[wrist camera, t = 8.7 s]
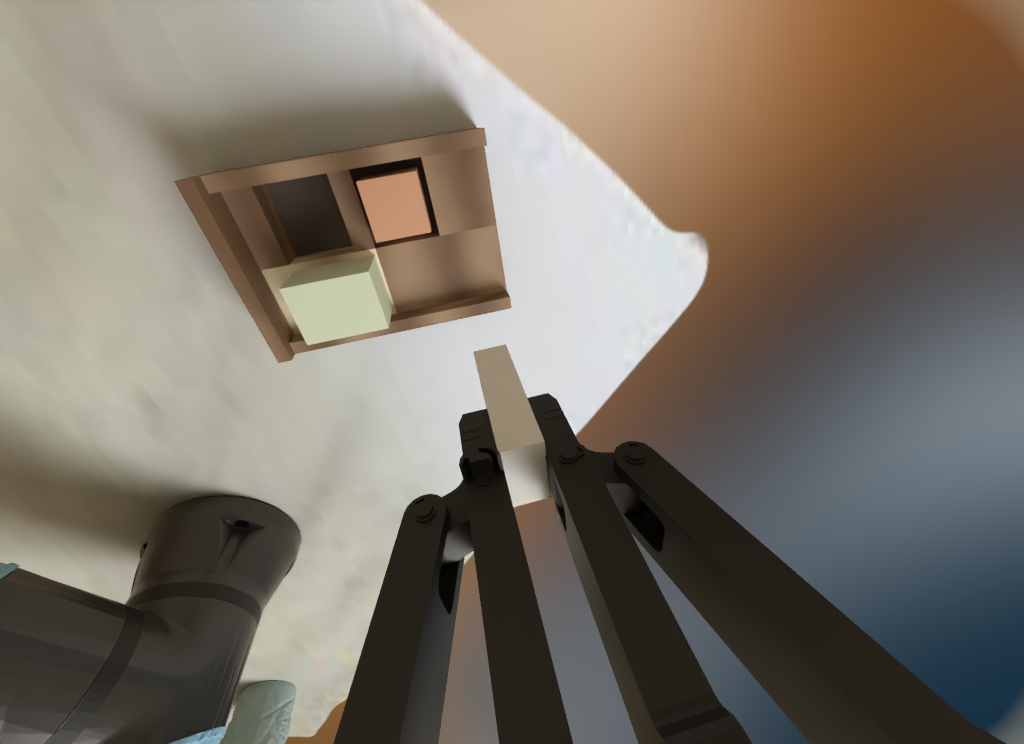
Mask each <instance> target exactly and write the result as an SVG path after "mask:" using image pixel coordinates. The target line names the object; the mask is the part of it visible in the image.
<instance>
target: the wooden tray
mask: <svg viewBox="0 0 1024 744" xmlns="http://www.w3.org/2000/svg"><path fill="white" fill-rule="evenodd" d="M486 145H487V143H486V136H485V130H484V128H473V129H467V130H461V131H455V132H450V133H444V134H438V135H432V136H426V137H420V138H414V139H408V140H402V141H397V142H391V143H385V144H379V145H373V146H367V147H361V148H355V149H349V150H344V151H338V152H332V153H326V154H320V155H314V156H308V157H302V158H296V159H290V160H285V161H279V162H273V163H267V164H261V165H255V166H249V167H243V168H237V169H232V170H226V171H220V172H214V173H209V174H204V175H200V176H195V177H191V178H186V179H182V180H177V181H174V182H175V184H176V185H177V187H178V189H179V190H180V192H181V194H182V196H183V197H184V199H185V201H186V203H187V204H188V206H189V208H190V210H191V211H192V213H193V215H194V217H195V218H196V220H197V222H198V224H199V225H200V227H201V229H202V231H203V232H204V234H205V236H206V238H207V239H208V241H209V243H210V244H211V246H212V248H213V250H214V251H215V253H216V255H217V257H218V258H219V260H220V262H221V264H222V265H223V267H224V269H225V271H226V272H227V274H228V276H229V278H230V279H231V281H232V283H233V285H234V286H235V288H236V290H237V292H238V293H239V295H240V297H241V298H242V300H243V302H244V304H245V305H246V307H247V309H248V311H249V312H250V314H251V316H252V318H253V319H254V321H255V323H256V325H257V326H258V328H259V330H260V332H261V333H262V335H263V337H264V339H265V340H266V342H267V344H268V346H269V347H270V349H271V351H272V352H273V354H274V356H275V358H276V359H277V361H278V363H281V362H285V361H290V360H292V358H293V357H294V355H295V354H297V353H302V352H307V351H311V350H316V349H321V348H325V347H330V346H335V345H340V344H344V343H349V342H354V341H358V340H363V339H368V338H372V337H377V336H382V335H387V334H391V333H396V332H401V331H405V330H410V329H415V328H420V327H424V326H429V325H434V324H438V323H443V322H448V321H453V320H457V319H462V318H467V317H471V316H476V315H481V314H486V313H490V312H495V311H500V310H504V309H509V308H511V302H510V296H509V294H508V293H507V290H506V284H505V277H504V271H503V264H502V258H501V252H500V245H499V239H498V232H497V226H496V219H495V213H494V206H493V200H492V193H491V187H490V180H489V174H488V168H487V161H486V155H485V148H484V146H486ZM414 166H417V168H418V172H419V176H420V180H421V185H422V189H423V193H424V197H425V201H426V205H427V209H428V213H429V217H430V221H431V232H430V233H425V234H420V235H415V236H409V237H404V238H399V239H394V240H389V241H383V242H378V243H376V240H375V237H374V234H373V231H372V228H371V225H370V222H369V219H368V216H367V213H366V210H365V207H364V204H363V201H362V198H361V195H360V192H359V189H358V186H357V183H356V181H358V180H359V179H360V178H361V177H362V176H364V175H369V174H375V173H380V172H386V171H392V170H397V169H403V168H409V167H414ZM374 255H375V258H376V261H377V264H378V266H379V269H380V272H381V275H382V278H383V281H384V284H385V287H386V290H387V293H388V296H389V299H390V302H391V305H392V313H391V319H390V325H389V328H388V329H383V330H378V331H374V332H369V333H364V334H359V335H355V336H350V337H345V338H340V339H336V340H331V341H326V342H321V343H317V344H312V345H307V344H306V342H305V340H304V338H303V336H302V334H301V332H300V330H299V328H298V326H297V324H296V322H295V320H294V318H293V316H292V314H291V312H290V310H289V308H288V306H287V304H286V302H285V300H284V298H283V296H282V294H281V292H280V290H279V289H280V287H281V286H282V285H283V284H284V283H285V282H286V281H287V280H288V278H289V277H290V276H291V275H292V274H293V273H294V272H295V271H296V270H302V269H307V268H312V267H317V266H322V265H327V264H333V263H338V262H343V261H348V260H353V259H358V258H364V257H369V256H374Z"/></svg>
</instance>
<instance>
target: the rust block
mask: <svg viewBox="0 0 1024 744" xmlns="http://www.w3.org/2000/svg"><path fill="white" fill-rule="evenodd" d="M356 183H357V186H358V189H359V192H360V195H361V198H362V201H363V204H364V207H365V210H366V213H367V216H368V219H369V222H370V225H371V228H372V231H373V234H374V237H375V240H376V243H378V242H383V241H389V240H394V239H399V238H404V237H409V236H415V235H420V234H425V233H430V232H431V221H430V217H429V213H428V209H427V205H426V201H425V197H424V193H423V189H422V185H421V180H420V176H419V172H418V168H417V166H414V167H409V168H403V169H397V170H392V171H386V172H380V173H375V174H369V175H364V176H362V177H361V178H360V179H359V180H358V181H356Z"/></svg>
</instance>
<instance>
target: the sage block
mask: <svg viewBox="0 0 1024 744" xmlns="http://www.w3.org/2000/svg"><path fill="white" fill-rule="evenodd" d="M279 290H280V292H281V294H282V296H283V298H284V300H285V302H286V304H287V306H288V308H289V310H290V312H291V314H292V316H293V318H294V320H295V322H296V324H297V326H298V328H299V330H300V332H301V334H302V336H303V338H304V340H305V342H306V344H307V345H312V344H317V343H321V342H326V341H331V340H336V339H340V338H345V337H350V336H355V335H359V334H364V333H369V332H374V331H378V330H383V329H388V328H389V325H390V319H391V313H392V305H391V302H390V299H389V296H388V293H387V290H386V287H385V284H384V281H383V278H382V275H381V272H380V269H379V266H378V264H377V261H376V258H375V255H374V256H369V257H364V258H358V259H353V260H348V261H343V262H338V263H333V264H327V265H322V266H317V267H312V268H307V269H302V270H296V271H295V272H294V273H293V274H292V275H291V276H290V277H289V278H288V280H287V281H286V282H285V283H284V284H283V285H282V286H281V287H280V289H279Z"/></svg>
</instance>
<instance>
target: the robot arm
mask: <svg viewBox="0 0 1024 744" xmlns="http://www.w3.org/2000/svg"><path fill="white" fill-rule="evenodd" d="M474 356H475V360H476V365H477V369H478V374H479V378H480V382H481V387H482V391H483V396H484V400H485V404H486V408H487V409H484V410H479V411H475V412H471V413H467V414H463V415H462V418H461V420H460V422H459V429H460V436H461V444H462V451H463V455H462V457H461V458H460V463H459V466H460V469H461V472H462V476H463V481H462V482H461V484H460V485H459V486H458V487H457V488H456V489H455V490H453V491H452V492H451V493H449V494H447V495H445V496H443V497H442V498H441V497H440V496H438V495H434V494H427V495H423V496H420V497H418V498H417V499H415V500H413V501H412V502H411V503H410V504H409V505H408V507H407V509H406V510H405V512H404V515H403V518H402V522H401V525H400V528H399V531H398V535H397V538H396V541H395V545H394V548H393V551H392V554H391V558H390V561H389V564H388V567H387V571H386V574H385V577H384V581H383V584H382V587H381V590H380V594H379V597H378V600H377V603H376V607H375V610H374V613H373V616H372V620H371V623H370V626H369V630H368V633H367V636H366V639H365V643H364V646H363V649H362V652H361V656H360V659H359V662H358V666H357V669H356V672H355V675H354V679H353V682H352V685H351V688H350V692H349V695H348V698H347V702H346V705H345V708H344V712H343V715H342V718H341V721H340V724H339V728H338V731H337V734H336V737H335V741H334V744H438V741H439V734H440V727H441V719H442V712H443V705H444V698H445V691H446V684H447V677H448V670H449V663H450V656H451V649H452V641H453V634H454V627H455V620H456V613H457V605H458V599H459V592H460V584H461V578H462V570H463V563H464V557H465V556H466V555H468V554H469V553H471V552H472V551H474V556H475V563H476V571H477V579H478V586H479V594H480V601H481V608H482V616H483V624H484V630H485V638H486V646H487V654H488V661H489V669H490V676H491V684H492V692H493V699H494V707H495V714H496V722H497V729H498V737H499V744H573V742H572V737H571V734H570V729H569V726H568V722H567V718H566V714H565V710H564V706H563V702H562V698H561V694H560V690H559V686H558V682H557V678H556V674H555V670H554V666H553V662H552V659H551V654H550V650H549V646H548V643H547V639H546V635H545V631H544V627H543V623H542V619H541V615H540V611H539V607H538V603H537V599H536V595H535V591H534V587H533V583H532V579H531V575H530V571H529V567H528V563H527V559H526V555H525V552H524V548H523V544H522V540H521V536H520V532H519V528H518V524H517V520H516V516H515V512H514V508H513V507H516V506H519V505H523V504H527V503H530V502H534V501H538V500H542V499H546V498H549V497H552V496H551V492H552V495H553V497H554V500H555V507H556V516H557V524H558V523H560V524H561V526H562V529H563V532H564V535H565V538H566V541H567V543H568V546H569V549H570V552H571V555H572V557H573V560H574V563H575V566H576V568H577V572H578V574H579V577H580V580H581V583H582V585H583V588H584V591H585V594H586V597H587V599H588V602H589V605H590V608H591V611H592V613H593V616H594V619H595V622H596V625H597V627H598V631H599V633H600V636H601V639H602V642H603V645H604V647H605V650H606V653H607V656H608V659H609V662H610V664H611V667H612V670H613V673H614V675H615V678H616V681H617V684H618V687H619V690H620V692H621V695H622V698H623V701H624V704H625V706H626V709H627V712H628V715H629V718H630V721H631V723H632V726H633V729H634V732H635V735H636V737H637V740H638V743H639V744H752V743H751V741H750V739H749V738H748V736H747V735H746V733H745V731H744V729H743V728H742V726H741V725H740V723H739V722H738V721H737V719H736V718H735V717H734V715H733V714H732V713H730V712H729V711H728V710H727V709H726V708H724V707H723V706H722V704H721V703H720V702H719V701H718V699H717V697H716V695H715V694H714V692H713V690H712V688H711V686H710V684H709V682H708V680H707V678H706V676H705V675H704V673H703V671H702V669H701V667H700V665H699V663H698V661H697V659H696V657H695V655H694V653H693V652H692V650H691V648H690V646H689V644H688V642H687V640H686V638H685V636H684V634H683V632H682V630H681V629H680V627H679V625H678V623H677V621H676V619H675V617H674V615H673V614H672V611H671V609H670V607H669V605H668V604H667V602H666V600H665V598H664V596H663V594H662V592H661V590H660V588H659V586H658V584H657V582H656V580H655V579H654V577H653V575H652V573H651V571H650V569H649V567H648V565H647V563H646V561H645V559H644V558H643V556H642V554H641V552H640V550H639V548H638V546H637V544H636V542H635V540H634V538H633V536H632V534H633V535H634V536H635V538H636V539H637V540H638V541H639V542H640V543H641V545H642V546H643V547H644V548H645V549H646V551H647V552H648V553H649V554H650V555H651V556H652V558H653V559H654V560H655V561H656V562H657V563H658V565H659V566H660V567H661V568H662V569H663V571H664V572H665V573H666V574H667V575H668V576H669V578H670V579H671V580H672V581H673V582H674V584H675V585H676V586H677V587H678V588H679V589H680V591H681V592H682V593H683V594H684V595H685V596H686V598H687V599H688V600H689V601H690V602H691V604H692V605H693V606H694V607H695V608H696V609H697V611H698V612H699V613H700V614H701V615H702V617H703V618H704V619H705V620H706V621H707V622H708V623H709V625H710V626H711V627H712V628H713V629H714V631H715V632H716V633H717V634H718V635H719V636H720V638H721V639H722V640H723V641H724V642H725V644H726V645H727V646H728V647H729V648H730V649H731V651H732V652H733V653H734V654H735V655H736V657H737V658H738V659H739V660H740V661H741V662H742V664H743V665H744V666H745V667H746V668H747V669H748V671H749V672H750V673H751V674H752V675H753V677H754V678H755V679H756V680H757V681H758V682H759V684H760V685H761V686H762V687H763V688H764V690H765V691H766V692H767V693H768V694H769V695H770V697H771V698H772V699H773V700H774V701H775V702H776V704H777V705H778V706H779V707H780V708H781V709H782V711H783V712H784V713H785V714H786V715H787V717H788V718H789V719H790V720H791V721H792V722H793V724H794V725H795V726H796V727H797V728H798V730H799V731H800V732H801V733H802V734H803V735H804V736H805V738H806V739H807V740H808V741H809V743H810V744H1006V743H1004V742H1002V741H1001V740H999V739H997V738H996V737H994V736H992V735H991V734H989V733H988V732H986V731H984V730H983V729H981V728H979V727H977V726H976V725H974V724H973V723H971V722H969V721H968V720H966V719H965V718H963V717H962V716H961V715H960V714H959V713H958V712H957V711H955V710H954V709H953V708H952V707H951V706H950V705H948V704H947V703H946V702H945V701H944V700H943V699H941V698H940V697H939V696H938V695H937V694H936V693H935V692H933V691H932V690H931V689H930V688H929V687H928V686H926V685H925V684H924V683H923V682H922V681H921V680H920V679H918V678H917V677H916V676H915V675H914V674H913V673H911V672H910V671H909V670H908V669H907V668H906V667H904V666H903V665H902V664H901V663H900V662H899V661H898V660H896V659H895V658H894V657H893V656H892V655H891V654H889V653H888V652H887V651H886V650H885V649H884V648H882V647H881V646H880V645H879V644H878V643H877V642H875V641H874V640H873V639H872V638H871V637H870V636H869V635H867V634H866V633H865V632H864V631H863V630H862V629H860V628H859V627H858V626H857V625H856V624H854V622H852V621H851V620H850V619H849V618H848V617H847V616H845V615H844V614H843V613H842V612H841V611H839V609H837V608H836V607H835V606H834V605H833V604H831V603H830V602H829V601H828V600H827V599H826V598H824V597H823V596H822V595H821V594H820V593H819V592H818V591H816V590H815V589H814V588H813V587H812V586H811V585H810V584H808V583H807V582H806V581H805V580H804V579H803V578H801V577H800V576H799V575H798V574H797V573H796V572H795V571H793V570H792V569H791V568H790V567H789V566H787V565H786V564H785V563H784V562H783V561H782V560H781V559H780V558H778V557H777V556H776V555H775V554H774V553H773V552H771V551H770V550H769V549H768V548H767V547H766V546H764V545H763V544H762V543H761V542H760V541H759V540H758V539H756V538H755V537H754V536H753V535H752V534H751V533H749V532H748V531H747V530H746V529H745V528H744V527H742V526H741V525H740V524H739V523H738V522H737V521H736V520H734V519H733V518H732V517H731V516H730V515H728V514H727V513H726V512H725V511H724V510H723V509H722V508H720V507H719V506H718V505H717V504H716V503H715V502H714V501H712V500H711V499H710V498H709V497H708V496H707V495H705V494H704V493H703V492H702V491H701V490H700V489H699V488H697V487H696V486H695V485H694V484H693V483H691V482H690V481H689V480H688V479H687V478H686V477H685V476H683V475H682V474H681V473H680V472H679V471H677V469H675V468H674V467H673V466H672V465H671V464H670V463H668V462H667V461H666V460H665V459H664V458H663V457H661V456H660V455H659V454H658V453H657V452H656V451H655V450H653V449H652V448H651V447H649V446H648V445H646V444H644V443H640V442H633V441H629V442H625V443H622V444H621V445H619V446H618V447H616V450H615V452H614V453H601V452H594V451H590V450H588V449H586V448H585V447H584V446H583V445H581V444H580V443H579V442H578V441H577V439H576V437H575V435H574V433H573V431H572V429H571V427H570V425H569V423H568V421H567V419H566V417H565V415H564V413H563V411H562V410H561V407H560V405H559V403H558V401H557V399H555V398H554V397H552V396H551V395H550V394H548V393H547V394H543V395H538V396H534V397H530V398H527V396H526V394H525V392H524V389H523V387H522V384H521V382H520V379H519V377H518V374H517V372H516V369H515V367H514V364H513V362H512V359H511V357H510V354H509V352H508V349H507V347H506V345H501V346H497V347H493V348H488V349H484V350H479V351H475V352H474ZM631 533H632V534H631ZM300 544H301V534H300V531H299V529H298V527H297V525H296V524H295V523H294V521H293V520H292V519H291V518H290V517H289V516H287V515H286V514H285V513H283V512H282V511H280V510H278V509H276V508H274V507H272V506H270V505H268V504H265V503H262V502H259V501H255V500H251V499H246V498H240V497H230V496H213V497H203V498H197V499H192V500H189V501H185V502H182V503H180V504H177V505H175V506H173V507H171V508H169V509H168V510H166V511H165V512H164V513H162V514H161V515H160V516H159V517H158V519H157V520H156V521H155V523H154V524H153V526H152V527H151V529H150V530H149V532H148V533H147V535H146V536H145V538H144V540H143V543H142V546H141V550H140V558H141V559H140V561H139V564H138V567H137V570H136V573H135V577H134V581H133V586H132V590H131V594H130V597H129V599H128V601H127V602H126V604H125V605H124V604H122V603H119V602H116V601H113V600H110V599H107V598H104V597H101V596H98V595H95V594H92V593H89V592H86V591H83V590H80V589H77V588H74V587H71V586H68V585H65V584H62V583H60V582H57V581H54V580H51V579H48V578H45V577H42V576H40V575H37V574H34V573H31V572H29V571H26V570H23V569H20V568H18V567H19V565H17V564H15V563H10V564H4V563H1V562H0V744H219V743H220V740H221V738H222V736H223V735H224V734H225V732H226V728H227V727H226V726H225V725H226V722H227V719H228V716H229V713H230V710H231V707H232V704H233V701H234V697H235V694H236V691H237V688H238V685H239V682H240V679H241V676H242V673H243V670H244V667H245V664H246V661H247V657H248V654H249V651H250V648H251V645H252V642H253V639H254V636H255V633H256V630H257V627H258V624H259V621H260V618H261V615H262V612H263V609H264V608H265V606H266V605H267V603H268V602H269V600H270V599H271V597H272V596H273V594H274V592H275V591H276V589H277V588H278V586H279V585H280V583H281V581H282V580H283V578H284V577H285V576H286V575H287V574H288V572H289V571H290V570H291V568H292V567H293V565H294V563H295V561H296V558H297V554H298V551H299V548H300Z"/></svg>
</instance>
